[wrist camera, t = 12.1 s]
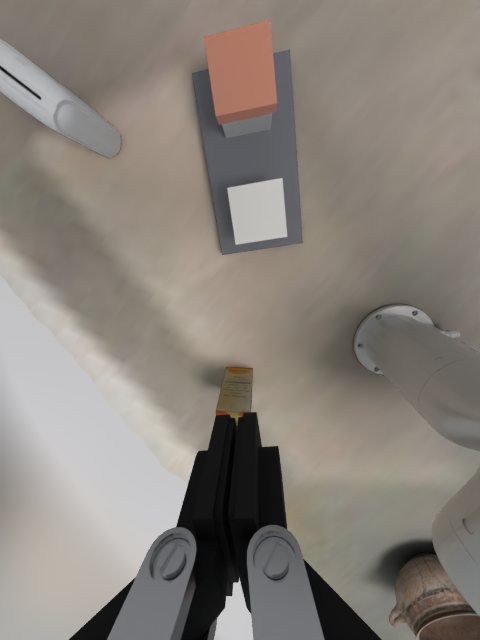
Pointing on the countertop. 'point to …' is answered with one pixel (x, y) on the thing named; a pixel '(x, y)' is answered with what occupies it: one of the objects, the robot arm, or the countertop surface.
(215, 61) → the salmon pink block
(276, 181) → the white plunger
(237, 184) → the block
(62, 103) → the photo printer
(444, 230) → the countertop surface
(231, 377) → the shoe polish box
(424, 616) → the cooking pot
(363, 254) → the countertop surface
